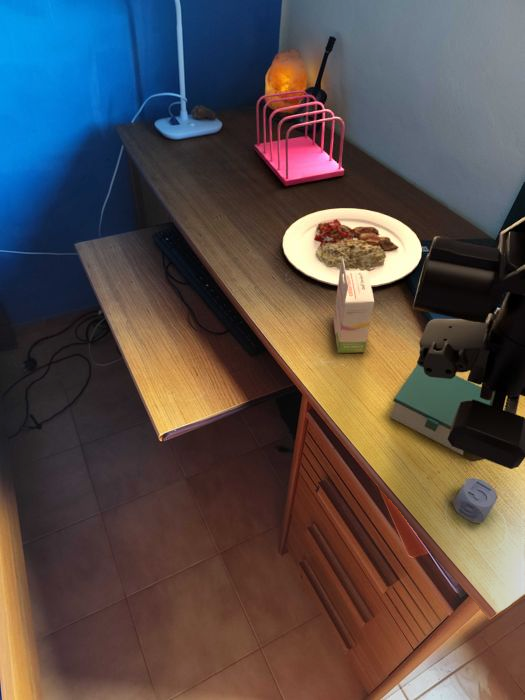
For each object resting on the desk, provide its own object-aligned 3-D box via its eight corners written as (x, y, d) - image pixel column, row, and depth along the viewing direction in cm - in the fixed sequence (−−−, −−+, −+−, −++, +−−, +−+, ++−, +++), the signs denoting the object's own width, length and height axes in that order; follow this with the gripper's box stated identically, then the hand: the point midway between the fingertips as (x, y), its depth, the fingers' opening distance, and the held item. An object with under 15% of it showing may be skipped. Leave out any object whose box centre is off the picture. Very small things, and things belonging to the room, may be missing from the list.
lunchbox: (489, 413, 72) (501, 393, 68) (466, 461, 66) (477, 442, 63) (414, 378, 77) (421, 357, 74) (386, 419, 72) (392, 399, 68)
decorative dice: (490, 504, 62) (501, 490, 59) (479, 527, 60) (489, 514, 57) (462, 487, 64) (470, 472, 61) (449, 508, 62) (458, 494, 59)
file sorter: (285, 187, 124) (285, 126, 112) (254, 150, 140) (252, 93, 129) (343, 175, 127) (350, 115, 116) (307, 141, 144) (309, 85, 133)
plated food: (387, 312, 89) (390, 298, 86) (256, 264, 100) (256, 250, 98) (438, 237, 106) (442, 224, 103) (321, 203, 117) (322, 191, 115)
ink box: (365, 353, 81) (378, 287, 71) (337, 353, 82) (346, 287, 71) (359, 320, 87) (370, 254, 77) (332, 320, 88) (340, 254, 77)
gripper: (460, 249, 50) (427, 350, 61) (410, 365, 39) (381, 462, 50) (576, 278, 46) (517, 380, 57) (558, 416, 35) (490, 509, 46)
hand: (476, 427), depth 53 cm, fingers open, 9 cm apart
